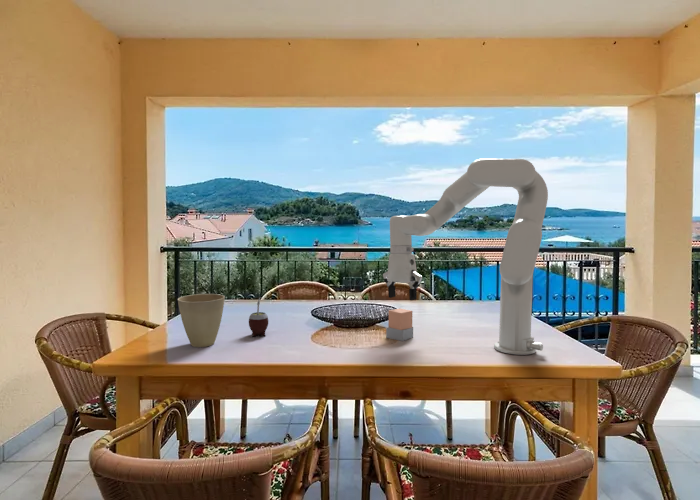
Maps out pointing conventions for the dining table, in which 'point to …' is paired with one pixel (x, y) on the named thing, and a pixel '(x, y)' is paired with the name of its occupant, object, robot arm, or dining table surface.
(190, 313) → the plant pot
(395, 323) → the terracotta cube
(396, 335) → the slate-grey block
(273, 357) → the dining table surface
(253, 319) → the mate gourd
